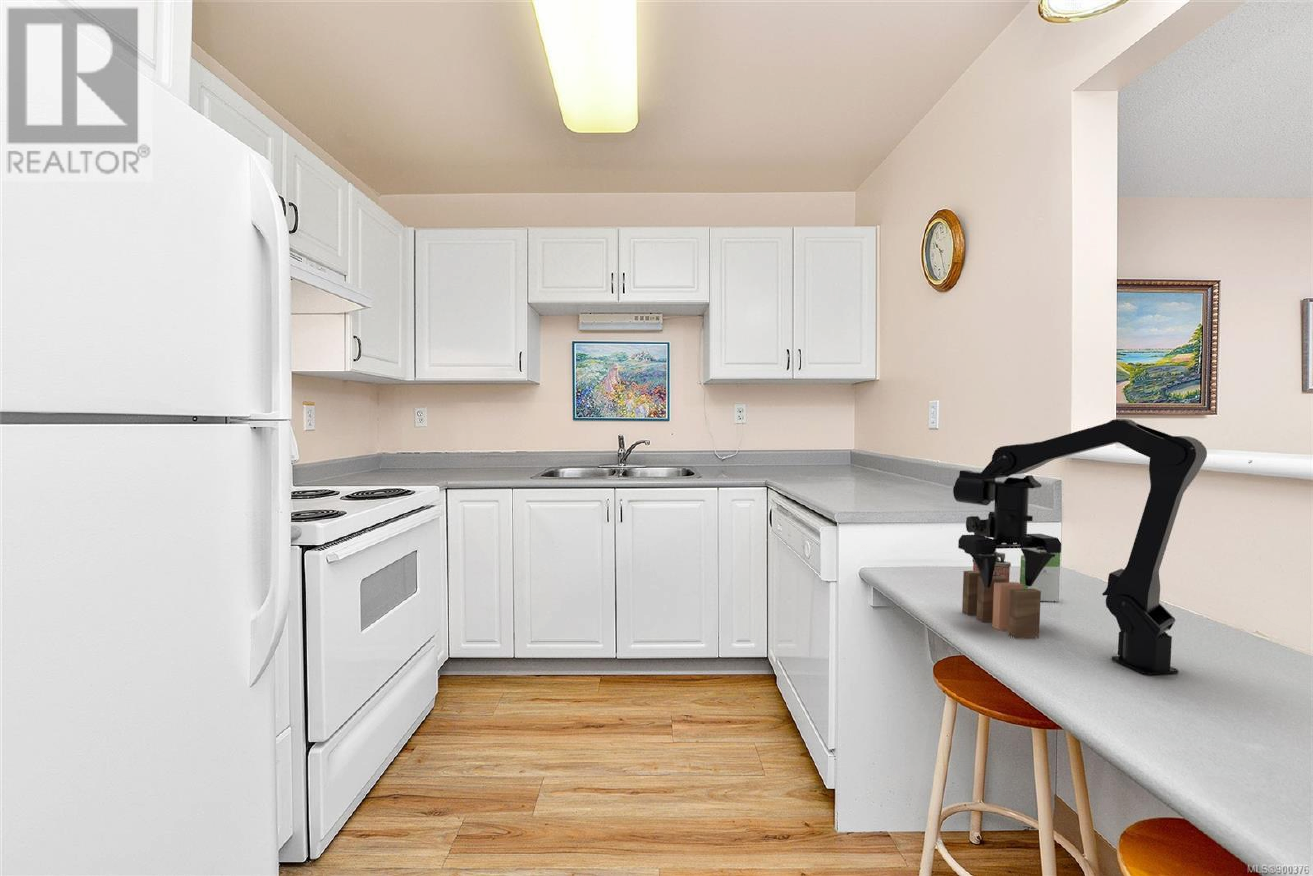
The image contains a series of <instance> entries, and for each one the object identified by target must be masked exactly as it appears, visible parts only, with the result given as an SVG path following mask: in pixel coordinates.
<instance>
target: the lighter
mask: <svg viewBox="0 0 1313 876" xmlns="http://www.w3.org/2000/svg"><path fill="white" fill-rule="evenodd" d="M991 555H995V556H997V558H996V563H995V568H994V573H993V576H1001V577H1004V578H1006V582H1010V570H1011V569H1010V567H1011V566H1012V565H1011V564H1012V563H1011V562H1010V561H1005V558H1006V553H1005V552H998V551H997V550H996V551H995V552H994V553H993V554H991ZM972 563H973V564H972V571H979V570H978V567H977V564H976V562H975V560H974V559H973V558H972Z"/></svg>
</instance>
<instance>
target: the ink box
mask: <svg viewBox="0 0 1313 876" xmlns="http://www.w3.org/2000/svg"><path fill="white" fill-rule="evenodd" d="M1061 553H1062V552H1061ZM1061 553H1052V554H1055V557H1052V558H1051V559H1050V560H1049V562H1048V563H1047V564H1046V565H1045V567H1044V568H1043V569H1042V571H1041V572H1040V574H1039V575H1038V577H1037V578H1036V580H1035V581H1034V583H1033V584H1032V586H1031V587H1029V586H1026V585H1025V556H1024V554H1022V555H1020V567H1019V568H1020V571H1019V583H1020V584H1023V589H1036V590H1039V591H1041V602H1054V601H1055V603H1056V602H1057V603H1058V602H1060V577H1061V576H1060V575H1061V556H1062V555H1061Z"/></svg>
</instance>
